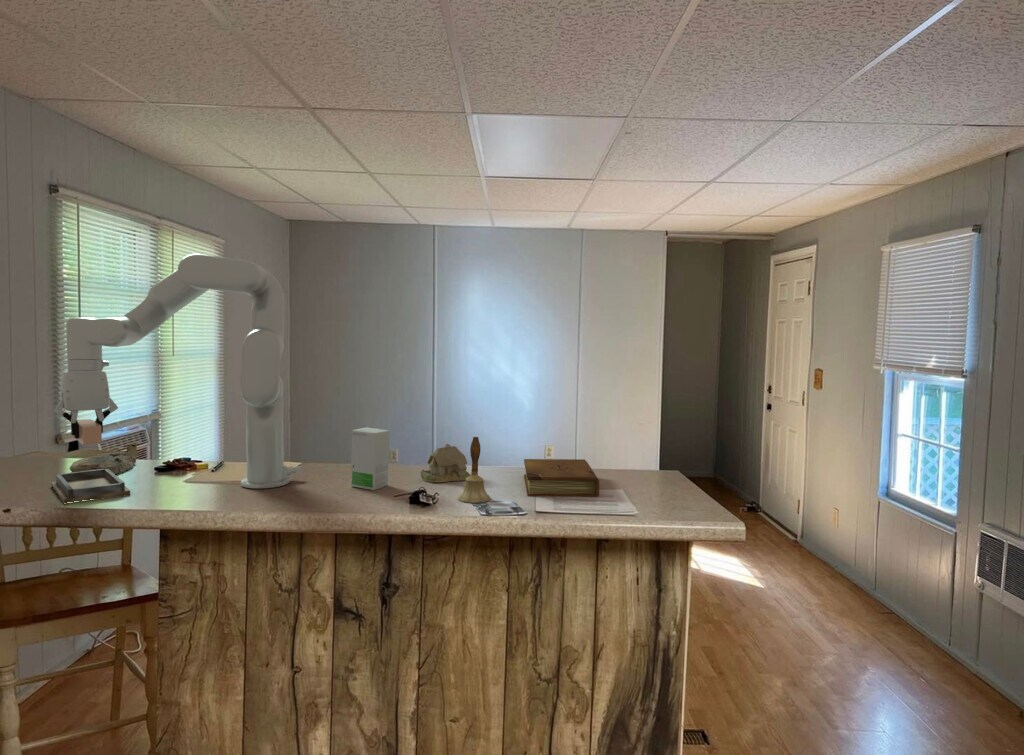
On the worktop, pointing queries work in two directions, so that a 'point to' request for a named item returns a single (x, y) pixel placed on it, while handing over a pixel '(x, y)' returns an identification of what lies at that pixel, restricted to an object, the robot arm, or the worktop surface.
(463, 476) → the ceramic model
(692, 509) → the worktop surface
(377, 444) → the skincare box
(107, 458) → the clay tablet
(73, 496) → the gray rectangular frame
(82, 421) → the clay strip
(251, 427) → the robot arm
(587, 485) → the diary
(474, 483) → the hand bell
